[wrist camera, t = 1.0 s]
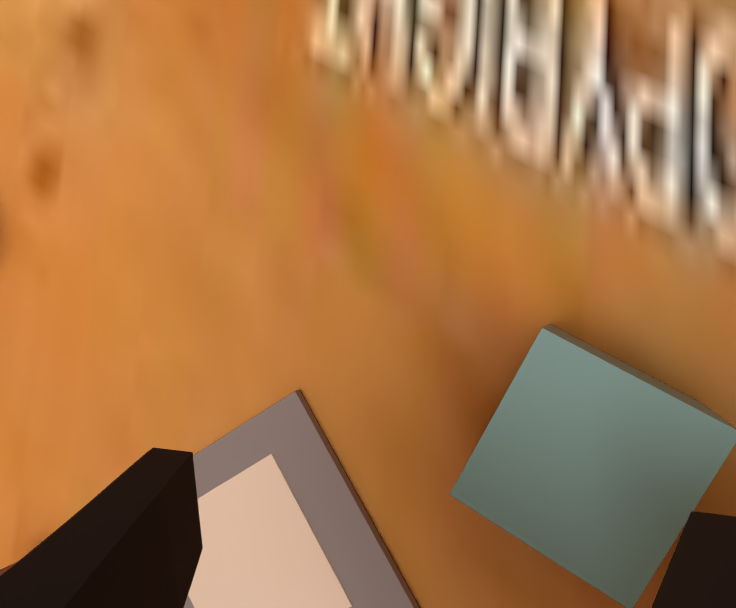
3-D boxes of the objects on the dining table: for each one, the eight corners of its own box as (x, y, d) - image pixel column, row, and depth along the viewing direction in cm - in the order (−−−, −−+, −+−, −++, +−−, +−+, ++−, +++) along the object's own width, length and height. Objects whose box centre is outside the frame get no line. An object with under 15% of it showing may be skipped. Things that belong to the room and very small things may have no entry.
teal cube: (701, 402, 19) (742, 432, 14) (618, 538, 20) (631, 610, 15) (550, 323, 20) (541, 327, 16) (478, 453, 21) (449, 494, 16)
